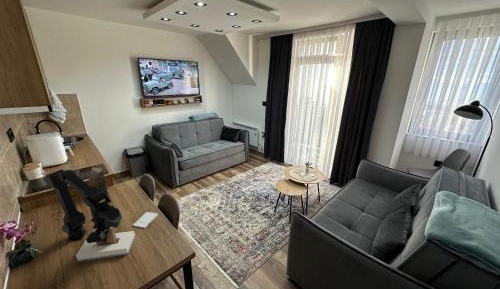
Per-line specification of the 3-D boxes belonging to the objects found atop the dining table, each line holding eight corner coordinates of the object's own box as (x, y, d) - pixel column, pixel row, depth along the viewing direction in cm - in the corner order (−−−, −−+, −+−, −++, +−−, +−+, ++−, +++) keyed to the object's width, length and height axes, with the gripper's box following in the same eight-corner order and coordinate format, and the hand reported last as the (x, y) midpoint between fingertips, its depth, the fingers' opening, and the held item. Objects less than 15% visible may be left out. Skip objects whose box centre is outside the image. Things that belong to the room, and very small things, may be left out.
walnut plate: (98, 248, 104) (94, 233, 101) (100, 244, 107) (96, 230, 104) (115, 245, 106) (112, 231, 103) (117, 242, 108) (114, 228, 105)
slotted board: (77, 261, 99) (75, 255, 98) (90, 242, 110) (88, 236, 109) (127, 254, 104) (126, 248, 102) (135, 236, 115) (134, 230, 113)
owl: (95, 190, 157) (88, 166, 150) (113, 188, 160) (108, 165, 154) (87, 199, 146) (80, 174, 139) (107, 197, 149) (101, 172, 142)
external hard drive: (157, 215, 133) (144, 229, 121) (146, 213, 134) (132, 227, 123) (157, 213, 132) (144, 227, 121) (146, 211, 133) (132, 224, 122)
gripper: (110, 225, 93) (116, 252, 98) (124, 201, 110) (129, 225, 115) (81, 228, 91) (90, 255, 96) (101, 203, 108) (107, 227, 113)
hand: (106, 239), depth 105 cm, fingers closed on walnut plate, 2 cm apart
